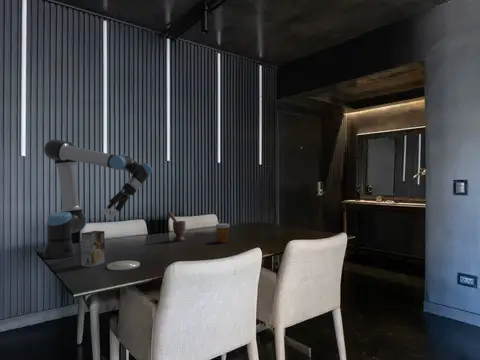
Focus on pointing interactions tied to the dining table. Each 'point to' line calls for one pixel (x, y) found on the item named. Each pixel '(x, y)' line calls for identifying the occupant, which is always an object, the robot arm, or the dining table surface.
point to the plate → (123, 265)
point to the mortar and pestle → (178, 228)
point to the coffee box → (93, 248)
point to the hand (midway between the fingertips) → (106, 216)
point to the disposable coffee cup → (222, 232)
